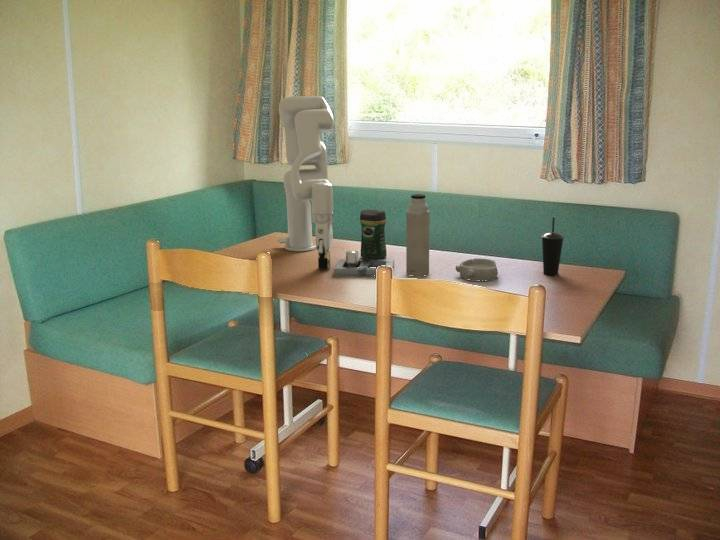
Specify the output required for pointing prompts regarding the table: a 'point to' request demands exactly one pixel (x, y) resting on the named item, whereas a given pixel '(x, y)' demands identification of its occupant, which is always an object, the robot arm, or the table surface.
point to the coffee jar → (373, 234)
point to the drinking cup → (551, 251)
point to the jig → (361, 267)
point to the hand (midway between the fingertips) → (324, 266)
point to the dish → (478, 269)
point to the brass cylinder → (327, 260)
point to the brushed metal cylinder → (352, 258)
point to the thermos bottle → (417, 236)
